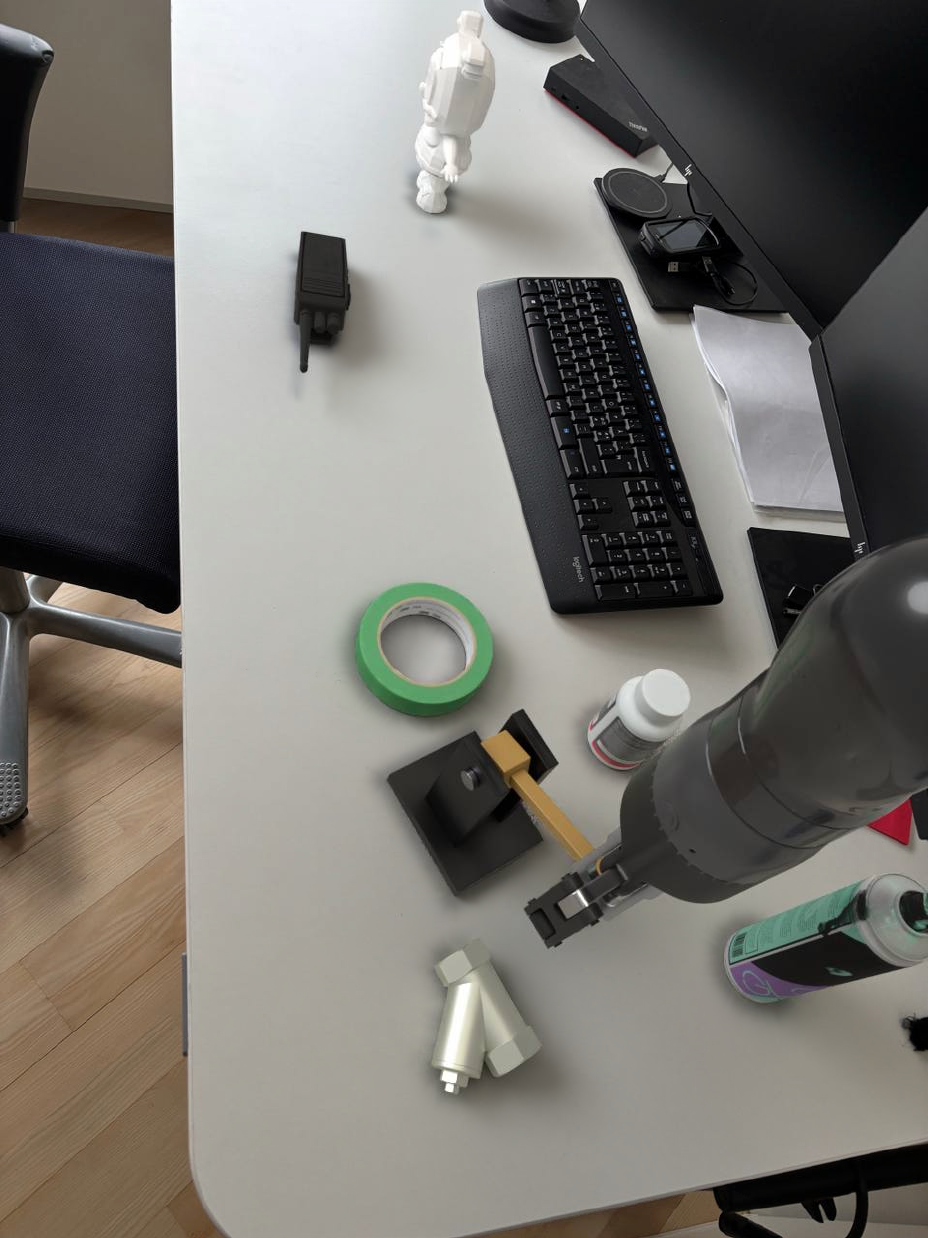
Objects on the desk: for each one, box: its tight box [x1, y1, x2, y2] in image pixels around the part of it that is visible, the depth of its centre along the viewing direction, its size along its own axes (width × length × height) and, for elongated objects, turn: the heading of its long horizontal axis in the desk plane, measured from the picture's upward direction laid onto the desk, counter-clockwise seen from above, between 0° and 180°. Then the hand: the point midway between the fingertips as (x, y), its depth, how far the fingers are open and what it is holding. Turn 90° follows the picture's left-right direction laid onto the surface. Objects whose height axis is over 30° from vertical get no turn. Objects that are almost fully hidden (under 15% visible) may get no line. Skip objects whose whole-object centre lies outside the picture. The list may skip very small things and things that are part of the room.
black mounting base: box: [386, 708, 559, 896], centre depth 65 cm, size 10×8×13 cm
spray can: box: [723, 871, 928, 1004], centre depth 62 cm, size 6×6×20 cm
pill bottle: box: [587, 668, 692, 771], centre depth 73 cm, size 5×5×10 cm
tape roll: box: [354, 582, 494, 717], centre depth 75 cm, size 11×11×3 cm
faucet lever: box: [481, 730, 619, 899], centre depth 58 cm, size 13×5×2 cm, turn 33°
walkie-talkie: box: [293, 230, 352, 374], centre depth 89 cm, size 6×6×20 cm
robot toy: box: [414, 9, 496, 214], centre depth 98 cm, size 8×20×19 cm, turn 2°
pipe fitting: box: [431, 938, 542, 1095], centre depth 61 cm, size 8×4×7 cm
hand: (601, 885), depth 56 cm, fingers open, 8 cm apart
